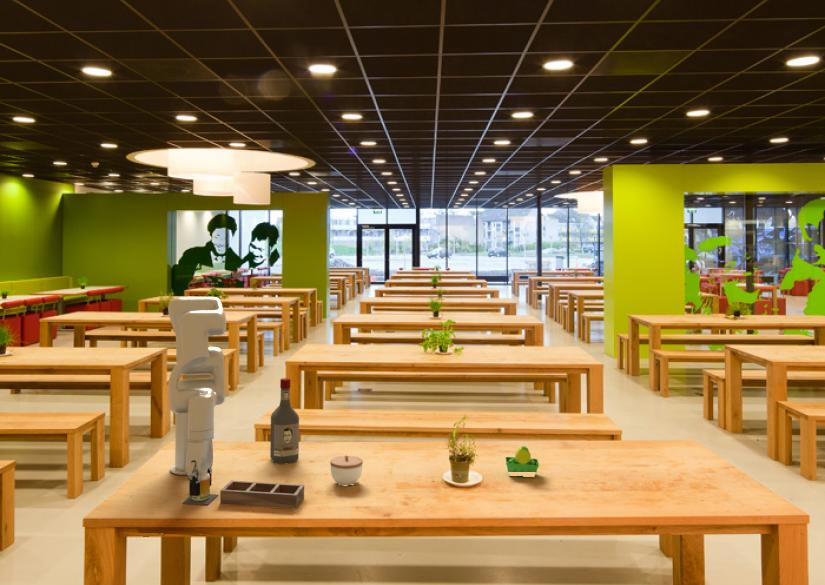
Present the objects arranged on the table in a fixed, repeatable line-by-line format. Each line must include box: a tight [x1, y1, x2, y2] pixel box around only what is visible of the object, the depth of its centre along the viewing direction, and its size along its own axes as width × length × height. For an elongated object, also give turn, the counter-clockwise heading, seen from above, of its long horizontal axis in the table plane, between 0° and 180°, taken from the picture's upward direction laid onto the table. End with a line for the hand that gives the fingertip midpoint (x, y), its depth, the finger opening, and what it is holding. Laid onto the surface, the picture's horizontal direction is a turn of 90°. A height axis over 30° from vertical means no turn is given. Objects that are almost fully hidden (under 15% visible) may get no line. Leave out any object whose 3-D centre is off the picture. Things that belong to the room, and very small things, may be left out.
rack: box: [219, 480, 305, 510], centre depth 207 cm, size 9×24×4 cm, turn 84°
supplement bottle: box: [192, 469, 211, 501], centre depth 207 cm, size 5×5×10 cm
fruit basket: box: [504, 445, 540, 473], centre depth 237 cm, size 11×9×11 cm
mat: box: [182, 493, 219, 506], centre depth 207 cm, size 8×8×1 cm
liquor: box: [269, 377, 300, 465], centre depth 247 cm, size 9×9×30 cm
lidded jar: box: [329, 454, 364, 486], centre depth 225 cm, size 11×11×9 cm
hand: (200, 490), depth 207 cm, fingers open, 7 cm apart
